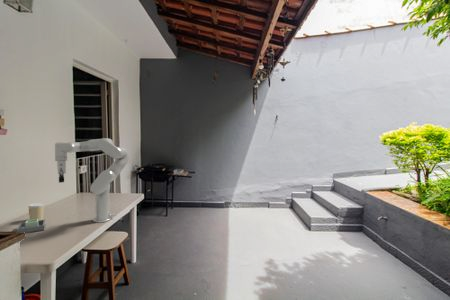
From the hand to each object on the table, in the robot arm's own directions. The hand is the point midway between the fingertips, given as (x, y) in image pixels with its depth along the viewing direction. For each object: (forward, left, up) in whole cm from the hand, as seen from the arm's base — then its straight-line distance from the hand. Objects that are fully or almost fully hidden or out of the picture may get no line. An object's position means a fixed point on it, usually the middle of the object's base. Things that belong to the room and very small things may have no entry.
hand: (61, 181), depth 179 cm
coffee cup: (+16, -11, -31) cm, 36 cm away
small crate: (+17, +10, -30) cm, 35 cm away
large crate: (+17, +10, -30) cm, 36 cm away
